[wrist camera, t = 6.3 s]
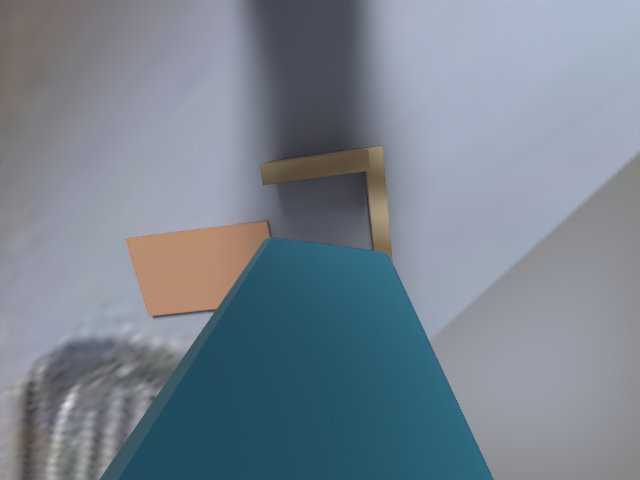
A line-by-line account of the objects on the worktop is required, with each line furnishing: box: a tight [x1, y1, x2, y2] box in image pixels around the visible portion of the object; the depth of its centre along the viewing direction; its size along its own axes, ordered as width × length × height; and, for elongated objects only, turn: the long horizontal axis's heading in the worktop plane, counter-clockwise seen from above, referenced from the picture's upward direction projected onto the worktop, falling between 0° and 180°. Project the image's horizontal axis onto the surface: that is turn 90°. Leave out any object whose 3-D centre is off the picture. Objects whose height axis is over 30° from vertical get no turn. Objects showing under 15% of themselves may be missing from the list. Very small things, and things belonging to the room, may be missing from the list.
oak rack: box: [260, 146, 392, 261], centre depth 30 cm, size 16×10×5 cm, turn 8°
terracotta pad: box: [126, 221, 271, 316], centre depth 33 cm, size 8×14×1 cm, turn 98°
